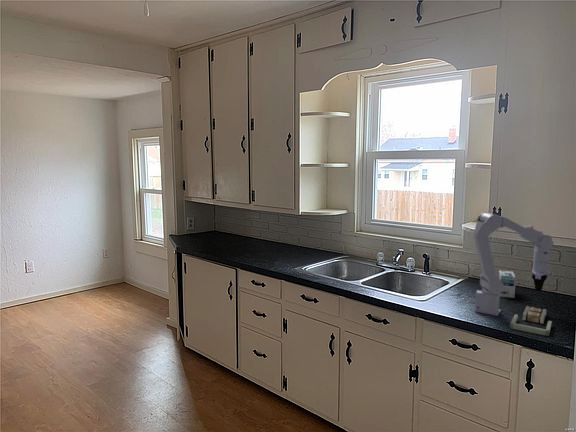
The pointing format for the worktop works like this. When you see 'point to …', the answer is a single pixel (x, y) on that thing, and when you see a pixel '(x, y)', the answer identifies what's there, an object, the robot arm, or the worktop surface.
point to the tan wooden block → (533, 316)
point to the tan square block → (535, 310)
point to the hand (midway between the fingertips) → (538, 291)
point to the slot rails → (528, 312)
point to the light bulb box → (507, 283)
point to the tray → (529, 328)
